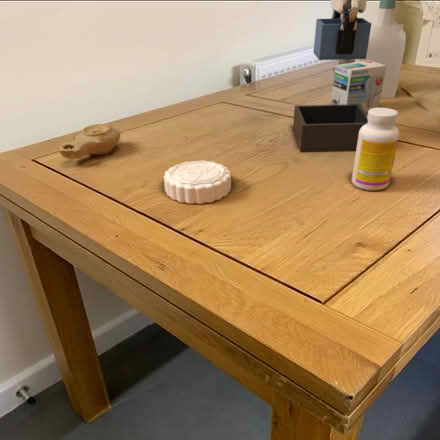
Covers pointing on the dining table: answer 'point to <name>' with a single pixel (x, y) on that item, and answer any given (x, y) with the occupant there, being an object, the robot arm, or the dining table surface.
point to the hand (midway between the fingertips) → (340, 49)
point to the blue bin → (328, 39)
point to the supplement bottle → (376, 150)
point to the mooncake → (197, 182)
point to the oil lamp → (91, 141)
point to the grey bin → (328, 127)
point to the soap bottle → (386, 46)
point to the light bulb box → (358, 84)
